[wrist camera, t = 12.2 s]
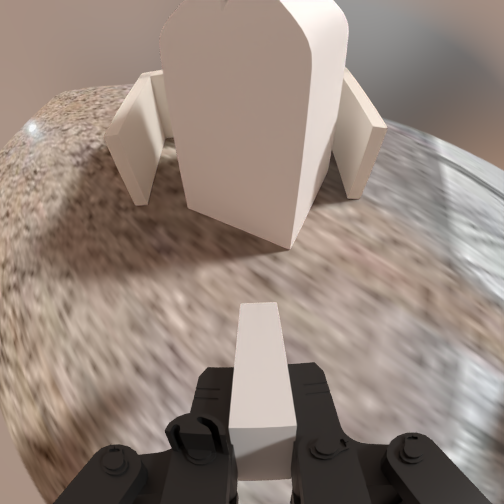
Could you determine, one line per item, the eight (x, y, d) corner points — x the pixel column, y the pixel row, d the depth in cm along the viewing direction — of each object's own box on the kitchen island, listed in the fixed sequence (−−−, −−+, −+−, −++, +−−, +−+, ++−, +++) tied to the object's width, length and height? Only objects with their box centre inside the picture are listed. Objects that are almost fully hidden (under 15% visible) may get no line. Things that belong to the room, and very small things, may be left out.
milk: (290, 250, 27) (335, -79, 4) (188, 208, 30) (129, -55, 7) (327, 171, 32) (368, -50, 10) (241, 142, 35) (233, -60, 12)
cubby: (333, 127, 37) (346, 67, 28) (359, 198, 30) (387, 128, 21) (157, 133, 37) (141, 73, 28) (135, 205, 30) (103, 137, 21)
